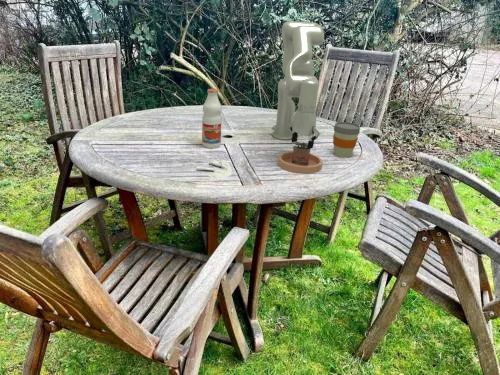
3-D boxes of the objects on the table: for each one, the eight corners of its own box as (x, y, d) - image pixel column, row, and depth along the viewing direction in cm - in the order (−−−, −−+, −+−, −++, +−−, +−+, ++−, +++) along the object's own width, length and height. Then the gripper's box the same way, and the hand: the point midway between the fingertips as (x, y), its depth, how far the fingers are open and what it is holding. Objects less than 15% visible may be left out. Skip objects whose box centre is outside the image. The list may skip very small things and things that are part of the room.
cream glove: (218, 183, 166) (218, 178, 165) (179, 169, 176) (178, 164, 175) (247, 169, 181) (247, 164, 180) (209, 156, 192) (209, 152, 191)
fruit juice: (217, 141, 210) (218, 87, 198) (223, 147, 203) (225, 91, 191) (199, 143, 207) (200, 87, 195) (205, 149, 199) (206, 92, 187)
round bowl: (269, 162, 188) (269, 156, 187) (298, 154, 201) (299, 148, 200) (301, 177, 175) (302, 170, 174) (330, 167, 188) (331, 161, 186)
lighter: (309, 163, 188) (311, 143, 184) (307, 166, 185) (310, 145, 181) (292, 160, 190) (294, 140, 186) (290, 163, 187) (293, 142, 183)
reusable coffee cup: (357, 153, 208) (362, 124, 202) (352, 160, 198) (357, 131, 192) (333, 148, 213) (337, 120, 206) (327, 155, 202) (331, 126, 196)
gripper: (286, 104, 180) (282, 141, 188) (316, 114, 169) (310, 153, 177) (298, 102, 185) (293, 138, 192) (327, 112, 174) (321, 149, 181)
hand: (301, 145), depth 185 cm, fingers open, 9 cm apart
